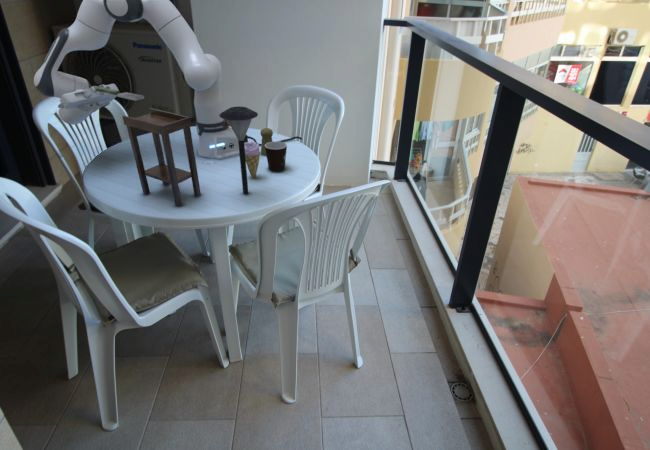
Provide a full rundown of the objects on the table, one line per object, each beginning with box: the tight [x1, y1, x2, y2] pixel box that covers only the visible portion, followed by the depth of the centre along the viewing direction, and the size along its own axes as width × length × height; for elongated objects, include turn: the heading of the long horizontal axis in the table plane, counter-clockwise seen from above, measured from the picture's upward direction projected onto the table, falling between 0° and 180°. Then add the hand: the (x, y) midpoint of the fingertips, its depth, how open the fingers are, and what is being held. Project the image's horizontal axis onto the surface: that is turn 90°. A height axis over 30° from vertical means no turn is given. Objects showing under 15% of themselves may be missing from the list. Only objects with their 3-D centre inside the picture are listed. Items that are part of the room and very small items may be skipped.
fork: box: [91, 85, 145, 102], centre depth 135 cm, size 24×4×1 cm, turn 61°
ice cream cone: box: [245, 140, 261, 179], centre depth 147 cm, size 7×6×15 cm
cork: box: [260, 127, 274, 157], centre depth 169 cm, size 6×6×11 cm
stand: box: [121, 107, 202, 208], centre depth 130 cm, size 18×11×28 cm, turn 61°
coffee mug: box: [265, 140, 288, 173], centre depth 157 cm, size 12×9×10 cm
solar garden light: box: [219, 106, 259, 196], centre depth 132 cm, size 12×12×30 cm
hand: (99, 87), depth 138 cm, fingers closed on fork
